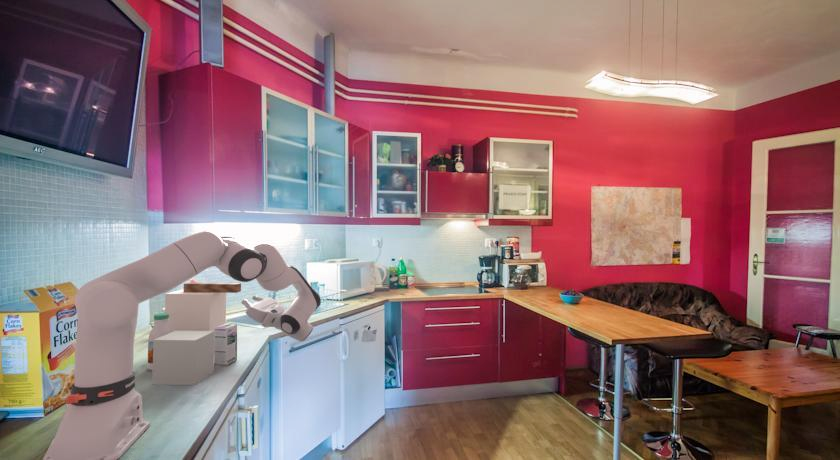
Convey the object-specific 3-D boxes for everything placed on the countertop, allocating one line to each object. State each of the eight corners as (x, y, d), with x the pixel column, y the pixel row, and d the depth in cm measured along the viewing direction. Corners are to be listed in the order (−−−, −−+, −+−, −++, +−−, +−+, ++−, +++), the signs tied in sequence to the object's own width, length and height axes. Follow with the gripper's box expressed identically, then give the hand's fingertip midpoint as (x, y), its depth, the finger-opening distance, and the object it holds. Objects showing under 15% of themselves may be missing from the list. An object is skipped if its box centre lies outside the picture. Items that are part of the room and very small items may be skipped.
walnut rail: (240, 291, 149) (241, 283, 149) (236, 292, 145) (236, 284, 145) (188, 290, 148) (189, 282, 148) (183, 292, 145) (183, 283, 145)
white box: (225, 348, 153) (226, 289, 153) (208, 358, 141) (210, 294, 141) (183, 348, 152) (184, 288, 153) (163, 358, 140) (165, 293, 141)
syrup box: (226, 365, 134) (227, 327, 134) (213, 364, 135) (214, 326, 135) (237, 360, 140) (237, 323, 140) (224, 358, 141) (225, 323, 141)
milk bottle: (143, 368, 130) (144, 314, 130) (166, 361, 137) (167, 310, 137) (154, 372, 126) (155, 317, 126) (177, 365, 133) (178, 313, 133)
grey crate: (213, 371, 128) (214, 331, 128) (194, 385, 117) (195, 340, 117) (174, 371, 127) (175, 330, 127) (152, 384, 116) (153, 339, 116)
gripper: (289, 304, 157) (263, 288, 157) (270, 314, 137) (240, 296, 137) (281, 316, 157) (255, 300, 157) (262, 328, 137) (231, 310, 137)
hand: (248, 298), depth 147 cm, fingers open, 8 cm apart
